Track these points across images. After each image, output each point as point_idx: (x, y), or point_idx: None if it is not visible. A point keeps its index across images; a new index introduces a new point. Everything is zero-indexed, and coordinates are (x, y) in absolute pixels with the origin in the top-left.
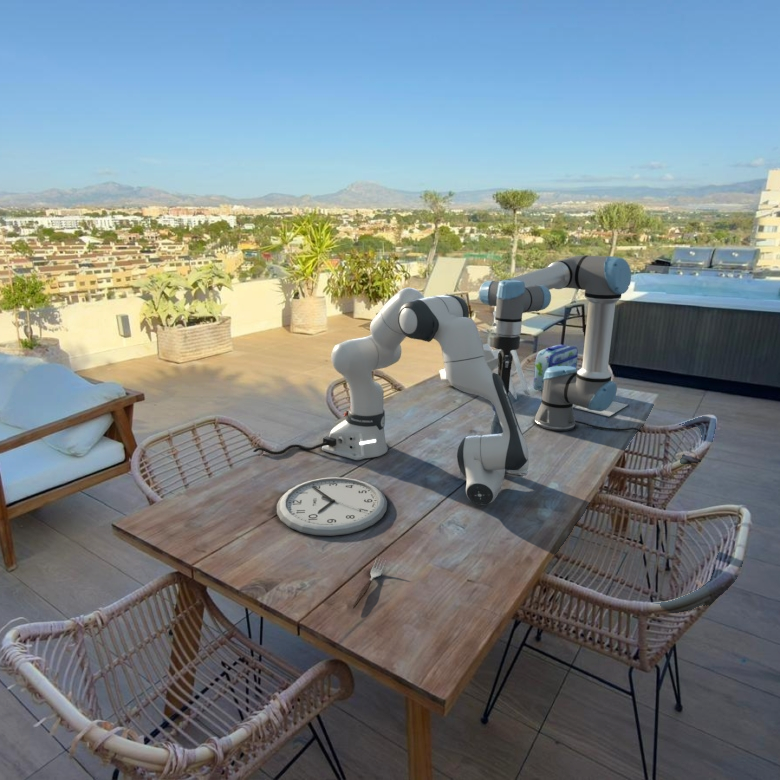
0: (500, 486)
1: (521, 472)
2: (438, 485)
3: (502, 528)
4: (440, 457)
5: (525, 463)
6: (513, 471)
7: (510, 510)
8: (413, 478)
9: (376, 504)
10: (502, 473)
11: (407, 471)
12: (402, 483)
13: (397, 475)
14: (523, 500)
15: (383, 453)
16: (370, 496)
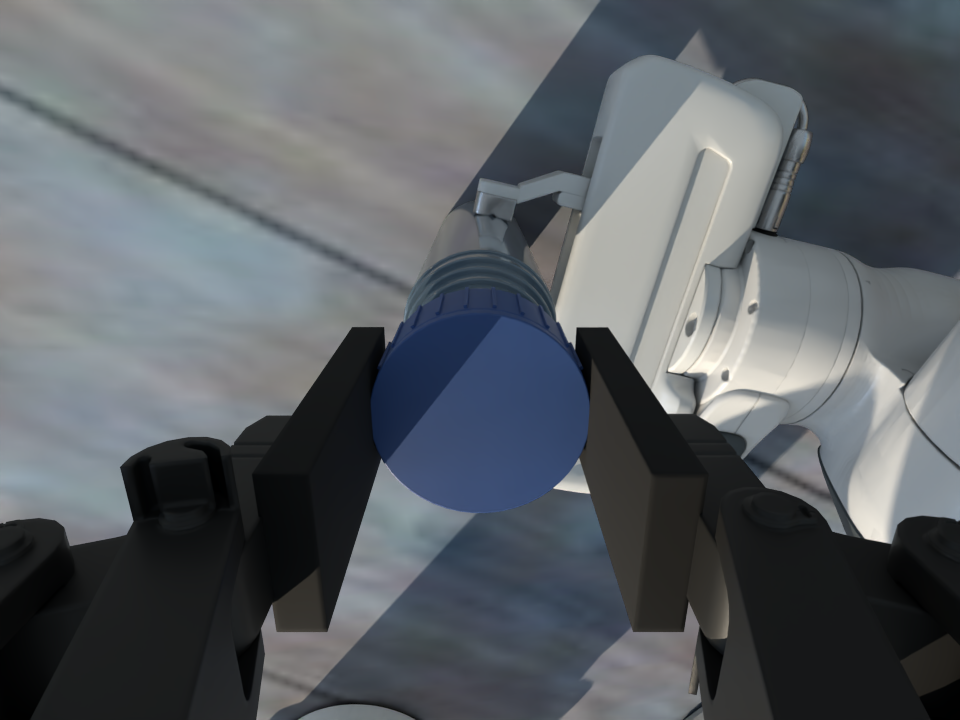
0: (944, 275)
1: (792, 128)
2: None
3: None
4: (369, 504)
5: (732, 90)
6: (772, 181)
7: (906, 197)
8: (605, 593)
9: None
10: (862, 265)
11: (543, 618)
12: None
13: (584, 647)
14: (810, 116)
15: (399, 715)
16: None
